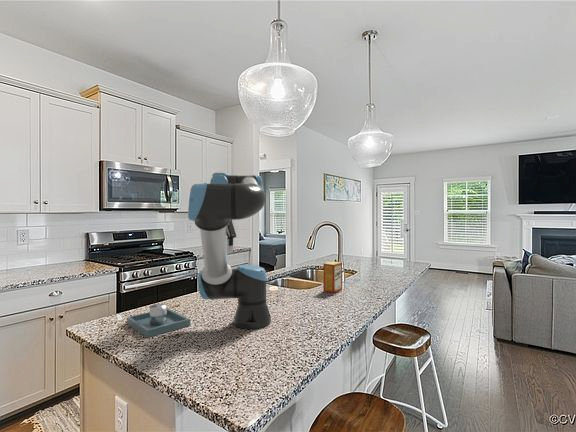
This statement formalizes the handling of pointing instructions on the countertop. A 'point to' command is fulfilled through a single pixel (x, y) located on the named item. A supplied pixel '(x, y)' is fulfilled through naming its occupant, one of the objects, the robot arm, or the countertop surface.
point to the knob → (158, 314)
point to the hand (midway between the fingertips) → (221, 251)
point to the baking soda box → (332, 276)
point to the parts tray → (144, 327)
